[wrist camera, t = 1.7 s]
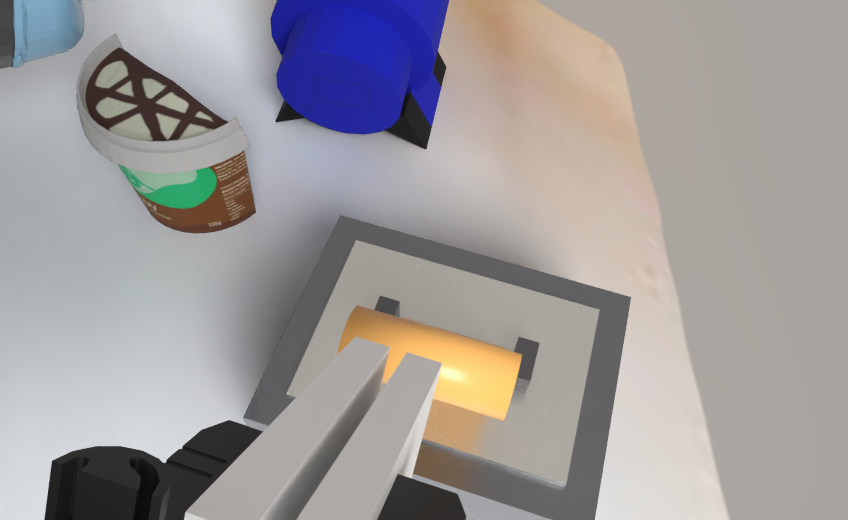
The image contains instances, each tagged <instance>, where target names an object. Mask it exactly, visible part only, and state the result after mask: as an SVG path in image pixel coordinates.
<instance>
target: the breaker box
mask: <svg viewBox="0 0 848 520" xmlns="http://www.w3.org/2000/svg"><path fill="white" fill-rule="evenodd" d="M630 300H631V297H628V296H625V295H621V294H618V293H614V292H611V291H607V290H604V289H600V288H596V287H593V286H589V285H586V284H582V283H579V282H575V281H572V280H568V279H565V278H561V277H557V276H554V275H550V274H547V273H543V272H540V271H536V270H533V269H529V268H525V267H522V266H518V265H515V264H511V263H508V262H504V261H501V260H497V259H494V258H490V257H486V256H483V255H479V254H476V253H472V252H469V251H465V250H462V249H458V248H454V247H451V246H447V245H444V244H440V243H437V242H433V241H430V240H426V239H422V238H419V237H415V236H412V235H408V234H405V233H401V232H398V231H394V230H391V229H387V228H383V227H380V226H376V225H373V224H369V223H366V222H362V221H359V220H355V219H351V218H348V217H344V216H341V215H340V217H339V219H338V222H337V224H336V226H335V228H334V230H333V232H332V234H331V236H330V238H329V240H328V242H327V244H326V246H325V249H324V251H323V253H322V255H321V257H320V259H319V261H318V263H317V265H316V267H315V269H314V271H313V273H312V276H311V278H310V280H309V282H308V284H307V286H306V288H305V290H304V292H303V294H302V296H301V298H300V300H299V303H298V305H297V307H296V309H295V311H294V313H293V315H292V317H291V319H290V321H289V323H288V325H287V327H286V330H285V332H284V334H283V336H282V338H281V340H280V342H279V344H278V346H277V348H276V350H275V352H274V355H273V357H272V359H271V361H270V363H269V365H268V367H267V369H266V371H265V373H264V375H263V377H262V379H261V382H260V384H259V386H258V388H257V390H256V392H255V394H254V396H253V398H252V400H251V402H250V404H249V406H248V409H247V411H246V413H245V415H244V417H243V418H244V420H245V422H246V423H247V425H248V427H251V428H254V429H257V430H260V431H264V430H265V429H266V428H267V427H268V426H269V425H270V424H271V423H272V422H273V421H274V420H275V419H276V418H277V417H278V416H279V415H280V414H281V413H282V412H283V411H284V410H285V409H286V408H287V407H288V406H289V405H290V403H291V402H292V401H293V400H294V399H295V398H296V397H297V396H298V395H299V394H300V393H301V392H302V391H303V390H304V389H305V388H306V387H307V386H308V385H309V384H310V383H311V382H312V381H313V380H314V379H315V378H316V377H317V376H318V375H319V374H320V373H321V372H322V370H323V369H324V368H325V367H326V366H327V365H328V364H329V363H330V362H331V361H332V360H333V359H334V358H335V357H336V356H337V352H338V348H339V343H340V340H341V336H342V333H343V330H344V328H345V325H346V323H347V320H348V318H349V316H350V314H351V312H352V311H353V309H354V308H355V307H356V306H357V305H359V306H363V307H366V308H369V309H373V310H376V311H379V312H383V313H386V314H389V315H393V316H396V317H399V318H402V317H404V318H408V319H411V320H414V321H418V322H421V323H424V324H428V325H431V326H434V327H438V328H441V329H445V330H448V331H451V332H455V333H458V334H461V335H465V336H468V337H471V338H475V339H478V340H481V341H485V342H488V343H491V344H495V345H498V346H501V347H505V348H506V349H507V350H509V351H513V352H516V353H519V354H522V358H521V363H520V367H519V371H518V375H517V379H516V383H515V387H514V390H513V394H512V397H511V401H510V404H509V407H508V410H507V413H506V416H505V419H504V421H502V420H499V419H495V418H492V417H489V416H486V415H483V414H479V413H476V412H473V411H470V410H467V409H464V408H460V407H457V406H454V405H451V404H448V403H444V402H441V401H438V400H435V399H433V400H432V404H431V408H430V411H429V415H428V419H427V423H426V426H425V430H424V434H423V437H422V441H421V445H420V448H419V452H418V456H417V460H416V463H415V467H414V471H413V474H412V479H415V480H418V481H421V482H424V483H427V484H430V485H433V486H436V487H439V488H442V489H445V490H448V491H451V492H454V493H457V494H458V496H459V498H460V501H461V504H462V506H463V509H464V512H465V514H466V520H595V514H596V508H597V502H598V496H599V490H600V484H601V478H602V472H603V465H604V459H605V453H606V447H607V441H608V435H609V429H610V423H611V416H612V410H613V404H614V398H615V392H616V386H617V380H618V374H619V368H620V361H621V355H622V349H623V343H624V337H625V331H626V325H627V319H628V312H629V306H630ZM385 385H386V384H384V383H381V386H380V390H379V394H380V392H381V391H382V389H383V388H384V386H385ZM379 394H378V395H379Z"/></svg>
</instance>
